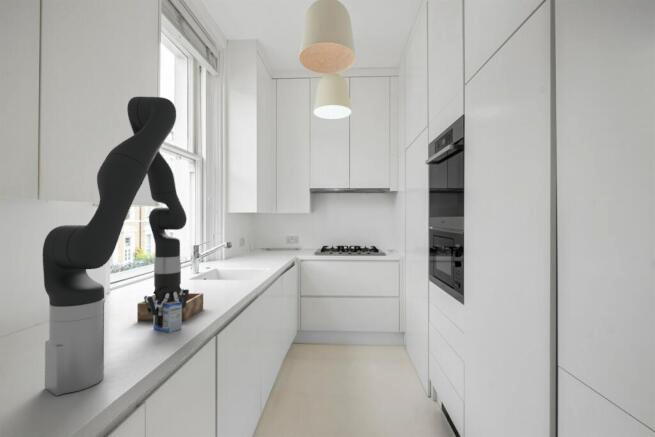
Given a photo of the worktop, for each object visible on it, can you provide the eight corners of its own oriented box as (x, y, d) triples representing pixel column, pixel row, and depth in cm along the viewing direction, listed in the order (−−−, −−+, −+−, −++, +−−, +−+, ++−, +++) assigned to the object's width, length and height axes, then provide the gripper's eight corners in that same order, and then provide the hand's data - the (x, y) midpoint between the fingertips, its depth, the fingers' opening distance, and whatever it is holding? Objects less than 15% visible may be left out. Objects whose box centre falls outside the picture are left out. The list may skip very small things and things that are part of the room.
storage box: (184, 321, 110) (184, 304, 110) (137, 321, 110) (137, 303, 111) (203, 308, 126) (203, 293, 126) (162, 308, 126) (162, 293, 127)
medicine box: (152, 329, 103) (152, 301, 103) (165, 325, 107) (165, 298, 107) (169, 333, 99) (169, 304, 99) (182, 328, 103) (182, 301, 103)
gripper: (152, 275, 95) (151, 333, 95) (195, 268, 107) (194, 321, 107) (138, 272, 99) (137, 329, 99) (181, 267, 111) (180, 317, 111)
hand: (167, 324), depth 103 cm, fingers closed on medicine box, 4 cm apart
